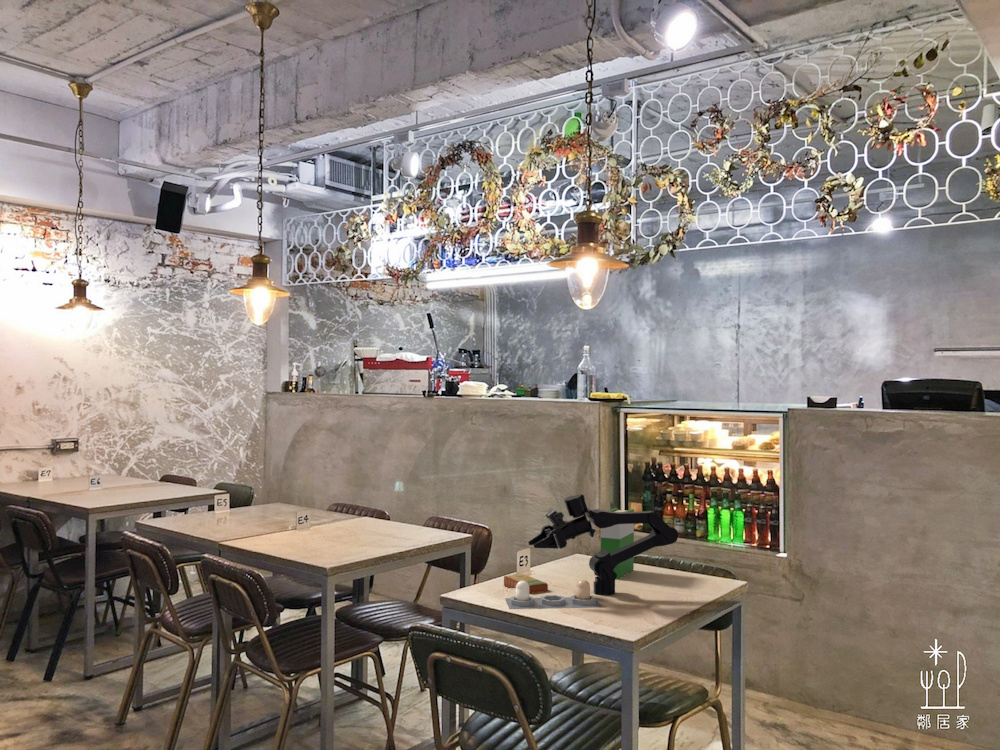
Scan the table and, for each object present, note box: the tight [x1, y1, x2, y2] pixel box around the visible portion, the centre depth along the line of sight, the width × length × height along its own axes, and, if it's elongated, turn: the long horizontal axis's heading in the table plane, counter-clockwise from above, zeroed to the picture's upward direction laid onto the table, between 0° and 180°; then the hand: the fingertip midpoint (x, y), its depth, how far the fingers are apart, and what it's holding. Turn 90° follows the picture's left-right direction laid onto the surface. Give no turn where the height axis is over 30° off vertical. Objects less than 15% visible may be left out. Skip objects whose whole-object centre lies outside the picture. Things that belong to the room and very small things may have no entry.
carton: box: [503, 573, 549, 595], centre depth 274 cm, size 8×16×4 cm, turn 32°
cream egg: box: [515, 581, 530, 601], centre depth 252 cm, size 4×4×7 cm
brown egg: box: [575, 579, 591, 600], centre depth 254 cm, size 4×4×7 cm
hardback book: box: [600, 507, 635, 580], centre depth 301 cm, size 18×7×24 cm, turn 153°
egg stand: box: [504, 594, 603, 610], centre depth 253 cm, size 30×13×2 cm, turn 96°
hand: (531, 545), depth 262 cm, fingers open, 9 cm apart
